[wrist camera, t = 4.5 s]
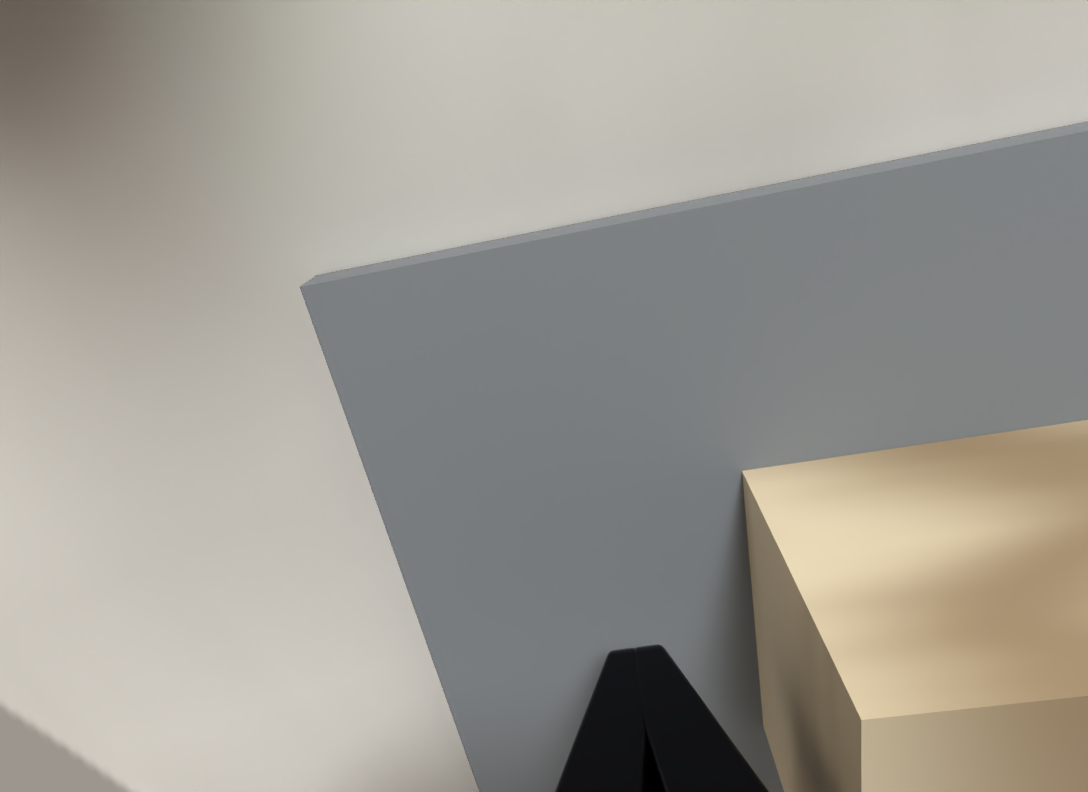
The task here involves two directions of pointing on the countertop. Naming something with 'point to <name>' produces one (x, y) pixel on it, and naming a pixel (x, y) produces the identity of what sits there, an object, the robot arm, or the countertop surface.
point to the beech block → (926, 615)
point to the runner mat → (684, 409)
